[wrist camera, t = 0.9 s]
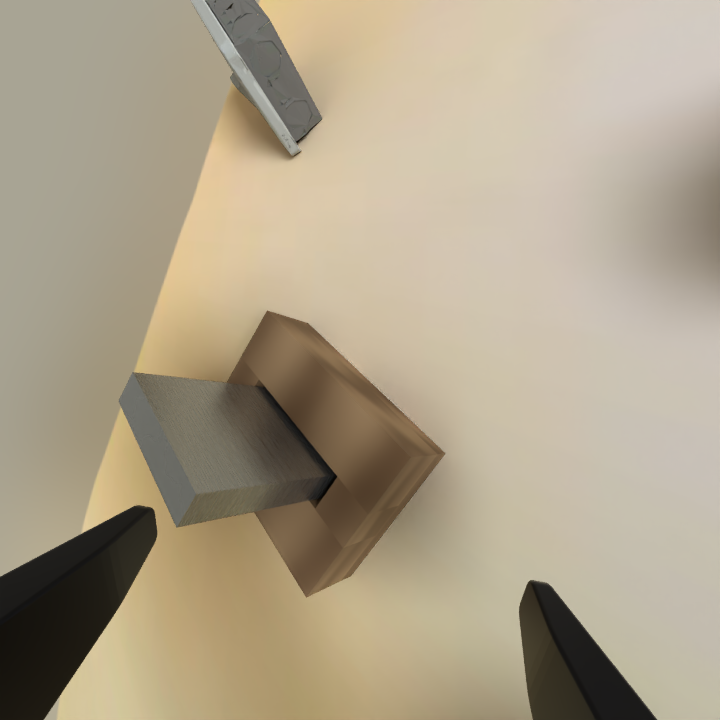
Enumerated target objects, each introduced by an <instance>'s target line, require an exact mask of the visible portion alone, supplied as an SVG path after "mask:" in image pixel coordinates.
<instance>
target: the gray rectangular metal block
mask: <svg viewBox="0 0 720 720" xmlns="http://www.w3.org/2000/svg"><path fill="white" fill-rule="evenodd" d="M119 403H120V405H121V407H122V410H123V412H124V414H125V416H126V418H127V420H128V423H129V425H130V427H131V429H132V431H133V434H134V436H135V438H136V440H137V442H138V444H139V447H140V449H141V451H142V453H143V455H144V458H145V460H146V462H147V464H148V466H149V468H150V471H151V473H152V475H153V477H154V479H155V482H156V484H157V486H158V488H159V490H160V493H161V495H162V497H163V499H164V501H165V503H166V506H167V508H168V510H169V512H170V514H171V517H172V519H173V521H174V523H175V525H176V527H182V526H187V525H191V524H196V523H201V522H206V521H211V520H216V519H221V518H226V517H231V516H236V515H241V514H246V513H250V512H255V511H260V510H265V509H270V508H275V507H280V506H285V505H290V504H295V503H300V502H305V501H309V500H314V499H319V498H323V497H324V496H325V494H326V493H327V491H328V490H329V488H330V487H331V486H332V484H333V483H334V481H335V480H336V478H337V475H336V474H335V473H334V472H333V470H332V469H331V468H330V467H329V465H328V464H327V463H326V462H325V460H324V459H323V458H322V457H321V455H320V454H319V453H318V452H317V451H316V449H315V448H314V447H313V446H312V444H311V443H310V442H309V441H308V439H307V438H306V437H305V436H304V434H303V433H302V432H301V431H300V429H299V428H298V427H297V426H296V424H295V423H294V422H293V421H292V419H291V418H290V417H289V416H288V415H287V413H286V412H285V411H284V410H283V408H282V407H281V406H280V405H279V403H278V402H277V401H276V400H275V398H274V397H273V396H272V395H271V393H270V392H269V391H268V390H267V388H266V387H259V386H250V385H241V384H232V383H224V382H215V381H206V380H197V379H188V378H179V377H171V376H162V375H153V374H144V373H135V372H133V373H132V375H131V377H130V379H129V381H128V383H127V385H126V387H125V389H124V391H123V393H122V395H121V397H120V399H119Z"/></svg>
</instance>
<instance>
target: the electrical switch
mask: <svg viewBox="0 0 720 720" xmlns="http://www.w3.org/2000/svg"><path fill="white" fill-rule="evenodd" d="M191 2H192V4H193V6H194V8H195V9H196V11H197V13H198V15H199V16H200V18H201V19H202V21H203V23H204V25H205V26H206V28H207V30H208V31H209V33H210V35H211V36H212V38H213V40H214V42H215V43H216V45H217V46H218V48H219V50H220V51H221V53H222V55H223V56H224V58H225V60H226V61H227V63H228V65H229V66H230V68H231V70H232V71H233V74H232V76H231V77H230V79H231V81H232V83H233V84H234V85H235V87H236V88H237V89H238V90H239V91H240V92H241V93H242V94H243V95H244V96H245V97H246V98H247V99H248V100H249V101H250V102H251V103H252V104H253V105H254V106H255V107H256V108H257V109H258V110H259V111H260V113H261V114H262V116H263V117H264V118H265V120H266V121H267V123H268V124H269V126H270V127H271V129H272V130H273V132H274V133H275V135H276V136H277V137H278V139H279V140H280V142H281V143H282V144H283V146H284V147H285V148H286V150H287V151H288V152H289V153H290V154H291V155H292V156H294V155H295V154H297V153H298V152H300V151H301V149H300V148H299V146H298V145H297V143H296V141H297V140H299V139H300V138H301V137H303V136H304V135H305V134H306V133H307V132H308V131H309V130H310V129H311V128H312V127H313V126H314V125H316V124H317V123H318V122H319V121H321V120H322V117H321V115H320V113H319V111H318V109H317V107H316V105H315V104H314V102H313V100H312V98H311V96H310V94H309V92H308V90H307V89H306V87H305V85H304V83H303V81H302V79H301V77H300V75H299V74H298V72H297V70H296V68H295V66H294V64H293V62H292V60H291V58H290V57H289V55H288V53H287V51H286V49H285V47H284V45H283V43H282V42H281V40H280V38H279V36H278V34H277V32H276V30H275V28H274V27H273V25H272V23H271V21H270V19H269V18H268V17H267V15H266V14H265V13H264V11H263V10H262V9H261V8H260V6H259V5H258V4H257V3H256V1H255V0H191ZM257 14H258V15H257ZM269 21H270V22H269ZM268 22H269V23H268ZM267 23H268V24H267ZM264 25H265V26H264Z"/></svg>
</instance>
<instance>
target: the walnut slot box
mask: <svg viewBox="0 0 720 720" xmlns="http://www.w3.org/2000/svg"><path fill="white" fill-rule="evenodd" d="M227 383H232V384H241V385H250V386H259V387H266V388H267V390H268V391H269V392H270V393H271V395H272V396H273V397H274V398H275V400H276V401H277V402H278V403H279V405H280V406H281V407H282V408H283V410H284V411H285V412H286V413H287V415H288V416H289V417H290V418H291V419H292V421H293V422H294V423H295V424H296V426H297V427H298V428H299V429H300V431H301V432H302V433H303V434H304V436H305V437H306V438H307V439H308V441H309V442H310V443H311V444H312V446H313V447H314V448H315V449H316V451H317V452H318V453H319V454H320V455H321V457H322V458H323V459H324V460H325V462H326V463H327V464H328V465H329V467H330V468H331V469H332V470H333V472H334V473H335V474H336V475H337V478H336V480H335V481H334V483H333V484H332V486H331V487H330V488H329V490H328V491H327V493H326V494H325V496H324V497H323V498H319V499H314V500H309V501H305V502H300V503H295V504H290V505H285V506H280V507H275V508H270V509H265V510H260V511H255V514H256V516H257V517H258V519H259V521H260V522H261V524H262V526H263V527H264V529H265V530H266V532H267V534H268V535H269V537H270V539H271V540H272V542H273V544H274V545H275V547H276V549H277V550H278V552H279V553H280V555H281V557H282V558H283V560H284V562H285V563H286V565H287V567H288V568H289V570H290V572H291V573H292V575H293V577H294V578H295V580H296V581H297V583H298V585H299V586H300V588H301V590H302V591H303V593H304V595H305V596H306V597H308V596H310V595H312V594H314V593H316V592H319V591H321V590H323V589H325V588H327V587H329V586H331V585H333V584H335V583H337V582H339V581H341V580H343V579H346V578H348V577H350V576H351V575H352V574H353V573H354V571H355V570H356V569H357V567H358V566H359V565H360V564H361V562H362V561H363V560H364V558H365V557H366V556H367V554H368V553H369V552H370V551H371V549H372V548H373V547H374V545H375V544H376V543H377V541H378V540H379V539H380V538H381V536H382V535H383V534H384V532H385V531H386V530H387V529H388V527H389V526H390V525H391V523H392V522H393V521H394V519H395V518H396V517H397V516H398V514H399V513H400V512H401V510H402V509H403V508H404V506H405V505H406V504H407V503H408V501H409V500H410V499H411V497H412V496H413V495H414V494H415V492H416V491H417V490H418V488H419V487H420V486H421V484H422V483H423V482H424V481H425V479H426V478H427V477H428V475H429V474H430V473H431V471H432V470H433V469H434V468H435V466H436V465H437V464H438V462H439V461H440V460H441V458H442V457H443V456H444V455H445V453H444V452H443V451H442V450H441V449H440V448H439V447H438V446H437V445H436V444H435V443H434V442H433V441H432V440H431V439H430V438H429V437H427V436H426V435H425V434H424V433H423V432H422V431H421V430H420V429H419V428H418V427H417V426H416V425H415V424H414V423H413V422H412V421H411V420H410V419H408V418H407V417H406V416H405V415H404V414H403V413H402V412H401V411H400V410H399V409H398V408H397V407H396V406H395V405H394V404H393V403H392V402H391V401H390V400H388V399H387V398H386V397H385V396H384V395H383V394H382V393H381V392H380V391H379V390H378V389H377V388H376V387H375V386H374V385H373V384H372V383H371V382H369V381H368V380H367V379H366V378H365V377H364V376H363V375H362V374H361V373H360V372H359V371H358V370H357V369H356V368H355V367H354V366H353V365H352V364H350V363H349V362H348V361H347V360H346V359H345V358H344V357H343V356H342V355H341V354H340V353H339V352H338V351H337V350H336V349H335V348H334V347H333V346H331V345H330V344H329V343H328V342H327V341H326V340H325V339H324V338H323V337H322V336H321V335H320V334H319V333H318V332H317V331H316V330H315V329H314V328H313V327H311V326H310V325H309V324H308V323H305V322H302V321H299V320H295V319H292V318H289V317H286V316H283V315H279V314H276V313H273V312H270V311H267V312H266V314H265V316H264V317H263V319H262V321H261V323H260V324H259V326H258V328H257V330H256V332H255V333H254V335H253V337H252V339H251V340H250V342H249V344H248V346H247V348H246V349H245V351H244V353H243V355H242V356H241V358H240V360H239V362H238V364H237V365H236V367H235V369H234V371H233V372H232V374H231V376H230V378H229V379H228V381H227Z"/></svg>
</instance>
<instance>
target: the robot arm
mask: <svg viewBox="0 0 720 720" xmlns="http://www.w3.org/2000/svg"><path fill="white" fill-rule="evenodd" d="M156 538H157V526H156V519H155V512H154V510H153V509H152V508H151V507H145V506H140V505H137V506H134V507H132V508H130V509H128V510H126V511H124V512H122V513H120V514H118V515H116V516H114V517H113V518H111V519H109V520H107V521H105V522H103V523H101V524H99V525H97V526H95V527H94V528H92V529H90V530H88V531H86V532H84V533H82V534H80V535H78V536H77V537H75V538H73V539H71V540H69V541H67V542H65V543H63V544H61V545H59V546H58V547H56V548H54V549H52V550H50V551H48V552H46V553H44V554H42V555H40V556H39V557H37V558H35V559H33V560H31V561H29V562H27V563H25V564H23V565H21V566H20V567H18V568H16V569H14V570H12V571H10V572H8V573H6V574H4V575H3V576H1V577H0V720H44V719H45V717H46V716H47V714H48V712H49V711H50V709H51V708H52V707H53V705H54V704H55V702H56V701H57V699H58V698H59V696H60V695H61V693H62V692H63V690H64V689H65V687H66V686H67V684H68V683H69V681H70V680H71V678H72V677H73V675H74V674H75V672H76V671H77V669H78V668H79V666H80V665H81V663H82V662H83V660H84V659H85V657H86V656H87V655H88V653H89V652H90V650H91V649H92V647H93V646H94V644H95V643H96V641H97V640H98V638H99V637H100V635H101V634H102V632H103V631H104V629H105V628H106V626H107V625H108V623H109V622H110V620H111V619H112V617H113V616H114V614H115V613H116V611H117V609H118V608H119V606H120V605H121V603H122V601H123V600H124V598H125V596H126V595H127V593H128V591H129V589H130V587H131V585H132V584H133V582H134V580H135V578H136V576H137V574H138V573H139V571H140V569H141V567H142V565H143V563H144V562H145V560H146V558H147V556H148V554H149V552H150V551H151V549H152V547H153V545H154V543H155V541H156ZM519 618H520V627H521V637H522V646H523V655H524V664H525V673H526V682H527V690H528V697H529V702H530V708H531V712H532V717H533V720H657V719H656V717H655V716H654V715H653V714H652V712H651V711H650V710H649V709H648V707H647V706H646V705H645V704H644V702H643V701H642V700H641V699H640V697H639V696H638V695H637V693H636V692H635V691H634V690H633V688H632V687H631V686H630V685H629V683H628V682H627V681H626V680H625V678H624V677H623V676H622V675H621V673H620V672H619V671H618V670H617V668H616V667H615V666H614V665H613V663H612V662H611V661H610V660H609V658H608V657H607V656H606V654H605V653H604V652H603V651H602V649H601V648H600V647H599V646H598V644H597V643H596V642H595V641H594V639H593V638H592V637H591V636H590V634H589V633H588V632H587V631H586V629H585V628H584V627H583V626H582V624H581V623H580V622H579V620H578V619H577V618H576V617H575V615H574V614H573V613H572V612H571V610H570V609H569V608H568V607H567V605H566V604H565V603H564V602H563V600H562V599H561V598H560V597H559V595H558V594H557V593H556V592H555V590H554V589H553V588H552V587H551V586H550V585H549V584H548V583H545V582H540V581H534V580H530V581H529V582H528V584H527V586H526V589H525V591H524V594H523V597H522V600H521V603H520V607H519Z"/></svg>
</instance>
